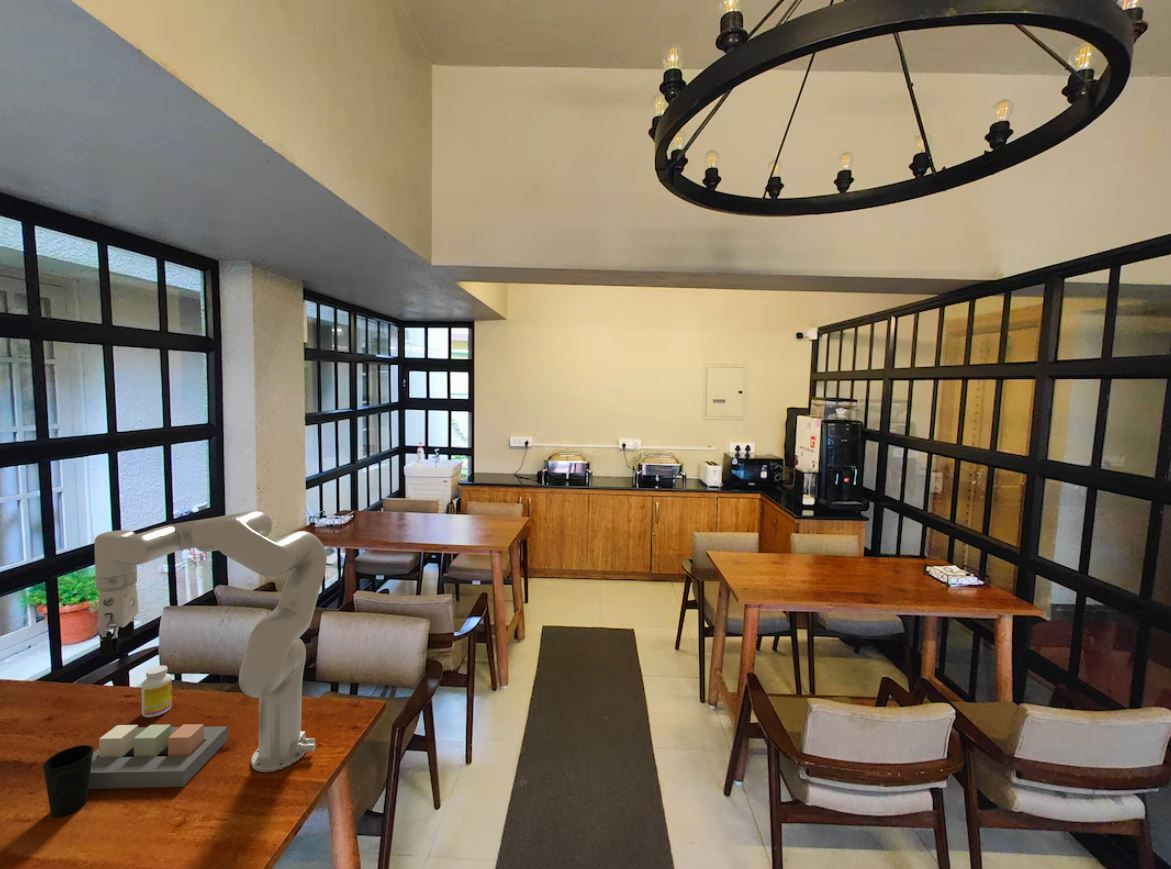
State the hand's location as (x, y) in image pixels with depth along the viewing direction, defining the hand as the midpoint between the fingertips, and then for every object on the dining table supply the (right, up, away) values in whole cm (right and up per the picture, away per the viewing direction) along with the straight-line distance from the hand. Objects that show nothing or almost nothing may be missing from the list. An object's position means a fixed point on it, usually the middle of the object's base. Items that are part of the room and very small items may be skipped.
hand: (118, 645), depth 121 cm
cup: (+3, -31, -14) cm, 34 cm away
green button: (+9, -27, 0) cm, 28 cm away
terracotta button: (+17, -27, +1) cm, 32 cm away
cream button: (+1, -27, -1) cm, 27 cm away
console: (+9, -30, 0) cm, 32 cm away
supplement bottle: (-8, -29, +20) cm, 36 cm away
